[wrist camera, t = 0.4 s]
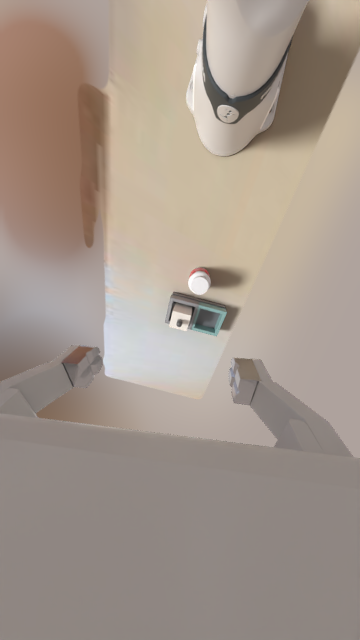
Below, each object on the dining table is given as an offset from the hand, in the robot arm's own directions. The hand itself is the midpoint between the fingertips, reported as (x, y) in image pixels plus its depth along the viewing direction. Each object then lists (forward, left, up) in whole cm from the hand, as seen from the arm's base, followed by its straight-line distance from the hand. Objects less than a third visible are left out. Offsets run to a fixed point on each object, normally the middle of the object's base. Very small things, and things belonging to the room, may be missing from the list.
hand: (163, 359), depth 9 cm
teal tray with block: (+15, +6, -44) cm, 46 cm away
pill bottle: (+3, +4, -44) cm, 44 cm away
